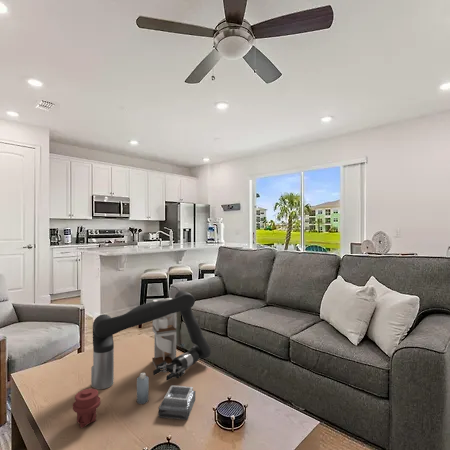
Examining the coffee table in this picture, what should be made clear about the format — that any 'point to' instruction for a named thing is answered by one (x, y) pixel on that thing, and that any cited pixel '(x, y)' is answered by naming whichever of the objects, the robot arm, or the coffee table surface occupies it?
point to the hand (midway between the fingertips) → (160, 375)
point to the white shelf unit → (164, 338)
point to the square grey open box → (177, 403)
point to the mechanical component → (86, 406)
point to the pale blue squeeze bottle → (142, 388)
